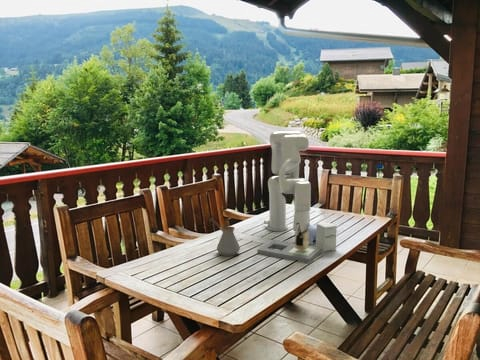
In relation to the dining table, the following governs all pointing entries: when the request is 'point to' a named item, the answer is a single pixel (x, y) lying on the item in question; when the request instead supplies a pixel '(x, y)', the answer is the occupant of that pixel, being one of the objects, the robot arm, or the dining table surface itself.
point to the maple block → (305, 241)
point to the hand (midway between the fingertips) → (301, 243)
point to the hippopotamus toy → (312, 233)
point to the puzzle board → (289, 251)
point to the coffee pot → (227, 241)
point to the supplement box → (326, 236)
